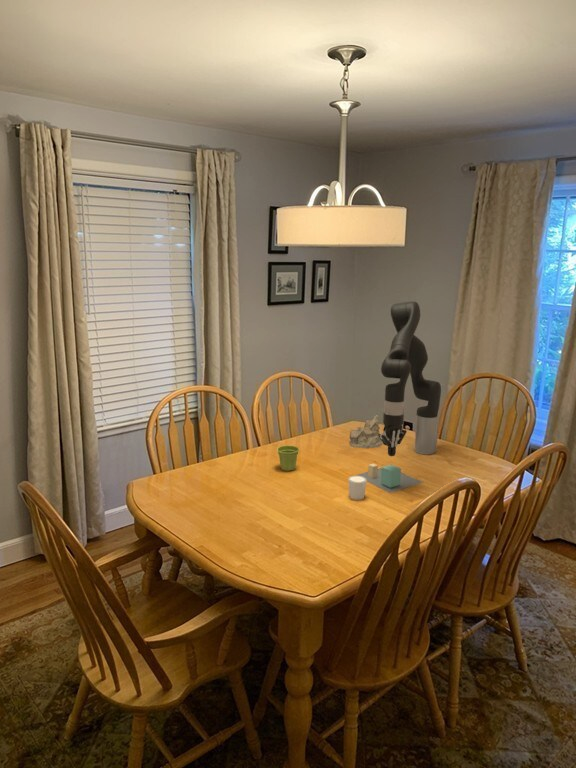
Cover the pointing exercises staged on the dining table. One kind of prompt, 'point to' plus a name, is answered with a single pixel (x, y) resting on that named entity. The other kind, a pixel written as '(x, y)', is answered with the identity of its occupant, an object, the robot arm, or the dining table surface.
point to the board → (375, 479)
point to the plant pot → (288, 457)
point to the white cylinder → (357, 487)
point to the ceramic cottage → (366, 435)
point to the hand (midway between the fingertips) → (391, 455)
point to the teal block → (390, 475)
